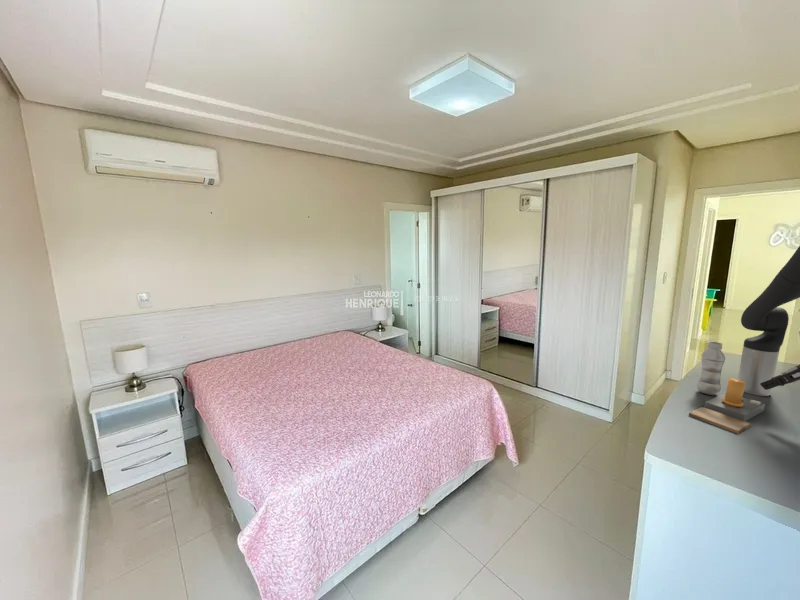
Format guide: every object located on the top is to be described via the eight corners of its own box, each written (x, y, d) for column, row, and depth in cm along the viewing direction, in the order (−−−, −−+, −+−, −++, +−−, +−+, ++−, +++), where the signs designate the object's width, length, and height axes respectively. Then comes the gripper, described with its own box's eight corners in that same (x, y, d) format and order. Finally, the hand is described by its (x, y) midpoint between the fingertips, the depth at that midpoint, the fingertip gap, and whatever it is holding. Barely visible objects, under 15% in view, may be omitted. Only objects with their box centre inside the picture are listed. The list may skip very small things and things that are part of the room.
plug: (724, 406, 115) (730, 376, 113) (744, 412, 111) (750, 382, 109) (718, 409, 113) (723, 379, 111) (737, 416, 109) (744, 384, 107)
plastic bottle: (724, 398, 121) (733, 346, 118) (703, 396, 123) (711, 345, 120) (711, 390, 128) (719, 341, 124) (691, 389, 129) (699, 340, 126)
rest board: (701, 409, 113) (702, 406, 113) (750, 426, 103) (750, 423, 102) (688, 415, 109) (689, 412, 109) (737, 433, 99) (738, 430, 98)
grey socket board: (725, 398, 121) (726, 390, 120) (763, 410, 112) (765, 402, 112) (703, 408, 114) (705, 400, 113) (743, 422, 105) (745, 413, 104)
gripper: (829, 345, 97) (766, 369, 109) (813, 352, 90) (748, 377, 102) (855, 368, 93) (787, 390, 105) (840, 377, 87) (770, 400, 99)
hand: (768, 384), depth 104 cm, fingers open, 8 cm apart
